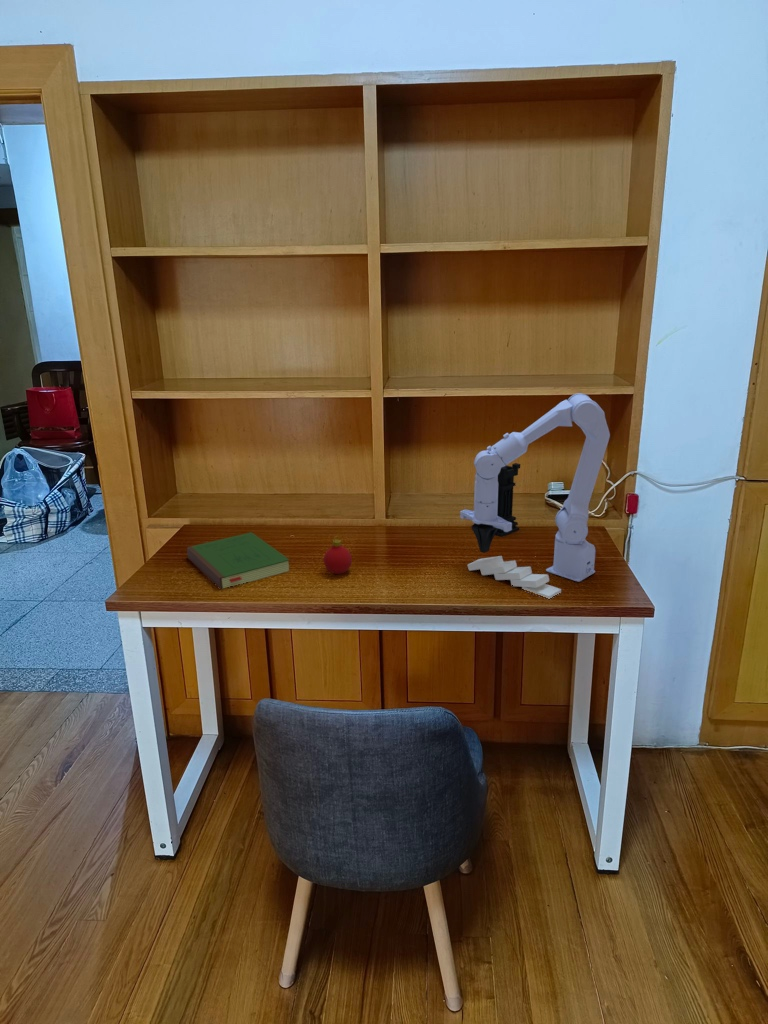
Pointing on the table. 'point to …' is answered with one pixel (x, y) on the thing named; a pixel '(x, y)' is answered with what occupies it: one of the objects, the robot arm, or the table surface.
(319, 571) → the table surface
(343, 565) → the christmas ornament
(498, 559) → the domino
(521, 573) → the domino
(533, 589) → the domino
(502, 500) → the chess piece
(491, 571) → the domino
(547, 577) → the domino
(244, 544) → the hardcover book
